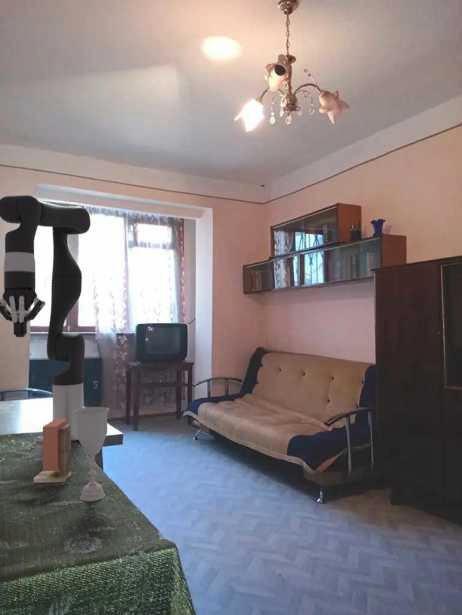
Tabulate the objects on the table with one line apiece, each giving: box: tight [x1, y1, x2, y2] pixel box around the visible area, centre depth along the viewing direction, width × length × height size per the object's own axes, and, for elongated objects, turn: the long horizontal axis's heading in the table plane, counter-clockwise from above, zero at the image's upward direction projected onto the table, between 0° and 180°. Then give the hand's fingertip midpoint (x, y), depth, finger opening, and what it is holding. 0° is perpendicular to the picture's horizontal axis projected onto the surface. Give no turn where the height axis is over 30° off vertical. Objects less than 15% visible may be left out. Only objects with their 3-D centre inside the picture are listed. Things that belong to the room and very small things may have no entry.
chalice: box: [74, 406, 110, 502], centre depth 97 cm, size 7×7×18 cm
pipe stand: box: [32, 424, 72, 484], centre depth 108 cm, size 5×7×12 cm
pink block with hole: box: [42, 419, 68, 471], centre depth 108 cm, size 8×3×10 cm, turn 2°
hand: (20, 337), depth 121 cm, fingers closed
